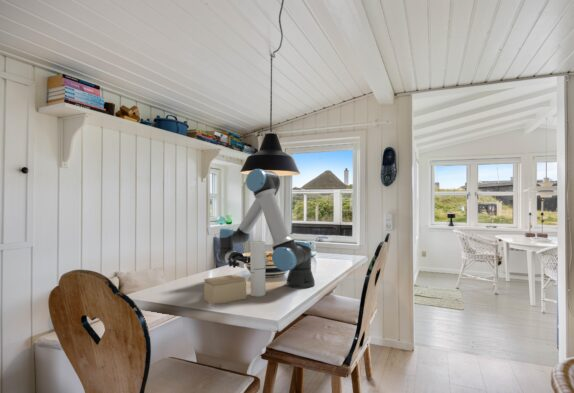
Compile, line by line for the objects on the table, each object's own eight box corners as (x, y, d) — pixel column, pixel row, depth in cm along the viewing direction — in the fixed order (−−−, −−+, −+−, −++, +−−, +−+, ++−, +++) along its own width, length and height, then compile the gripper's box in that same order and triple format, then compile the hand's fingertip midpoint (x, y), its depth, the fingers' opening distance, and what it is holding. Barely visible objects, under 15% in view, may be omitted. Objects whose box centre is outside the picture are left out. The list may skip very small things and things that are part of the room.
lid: (204, 281, 148) (204, 278, 148) (234, 276, 158) (234, 274, 158) (213, 285, 140) (213, 283, 140) (245, 280, 150) (245, 278, 150)
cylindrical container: (262, 296, 152) (262, 242, 153) (248, 295, 154) (248, 242, 155) (267, 292, 159) (267, 241, 160) (253, 292, 161) (253, 241, 161)
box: (204, 299, 148) (204, 282, 148) (235, 293, 157) (235, 277, 158) (213, 304, 140) (213, 286, 140) (246, 298, 149) (246, 280, 150)
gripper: (254, 263, 182) (276, 268, 165) (212, 268, 167) (232, 274, 150) (254, 249, 182) (276, 253, 165) (212, 253, 167) (232, 258, 150)
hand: (255, 263), depth 158 cm, fingers open, 13 cm apart
